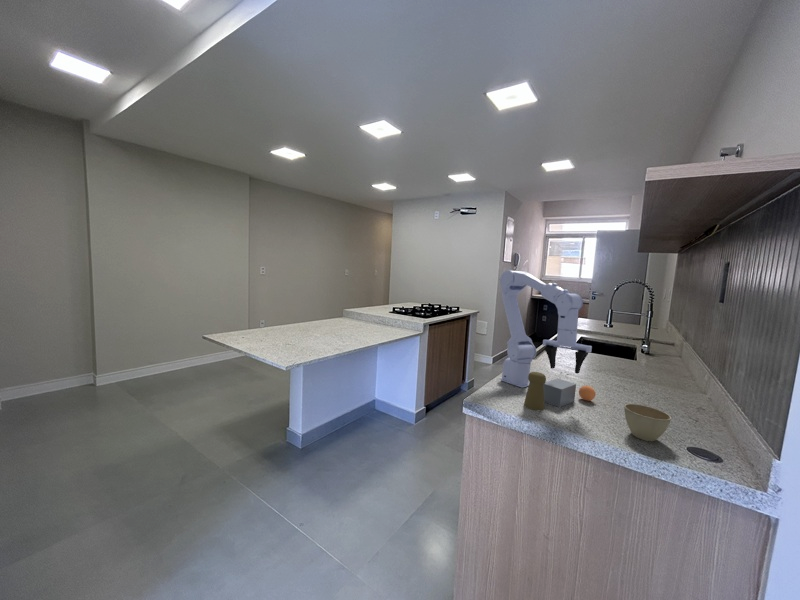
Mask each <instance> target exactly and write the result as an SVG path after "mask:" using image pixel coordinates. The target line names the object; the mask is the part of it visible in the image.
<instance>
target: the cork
mask: <svg viewBox="0 0 800 600" xmlns="http://www.w3.org/2000/svg"><path fill="white" fill-rule="evenodd" d="M528 380H529V386H527V387H528V388H527V390H526V391H527V392H526V395H525V399H524V403H523V406H524V407H525V406H526V407H525V408H527V409H529V408H530V409H529V410H532V411H537V410H542V411H544V410H545V402H544V387H543V385H544V384H545V382H547V377H546V375H545V374H544V373H542V372H537V371H530V373H529V375H528ZM543 409H544V410H543Z"/></svg>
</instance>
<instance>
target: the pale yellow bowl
mask: <svg viewBox="0 0 800 600" xmlns="http://www.w3.org/2000/svg"><path fill="white" fill-rule="evenodd" d="M623 408H624V416H625V421H626V424H627V425H628V428H629V431H630V433H631V435H633V436H634V437H635V438H638V439H640V440H642V441H645V442H654V441H655V442H656V441H657V440H658V439H659V438H660V437H661V436H662V435H663V434H664V433H665V432H666V430H667V428H668V427H669V425H670V423H671V420H672V417H671V415H670V414H668V413H667V412H664V411H663V410H660V409H658V408H654V407H652V406H648V405H643V404H637V403H625V404H624V407H623Z"/></svg>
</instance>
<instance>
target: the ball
mask: <svg viewBox="0 0 800 600" xmlns="http://www.w3.org/2000/svg"><path fill="white" fill-rule="evenodd" d="M578 395H579V397H580V398H581V399H582V400H584V401H587V402H588V401H589V402H590V401H593V400H594V399H595V398H596V390H595V389H594V388H593V387H592V386H590V385H583V386H580V387H579V389H578Z"/></svg>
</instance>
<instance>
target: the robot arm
mask: <svg viewBox="0 0 800 600" xmlns="http://www.w3.org/2000/svg"><path fill="white" fill-rule="evenodd" d="M499 282H500V283H499V285H500V287H501V299H502V303H503V307H504V311H505V316H506V321H507V326H508V330H509V333H510V338H509V340H507V341H506V343H507V345H506V346H507V349H506V351H507V352H506V353H507V356H508V357H507V358H505V360H504V361H503V363H502V364H503V365H502V374H501V379H500V381H502V382H505V383H508V384H510V385H513V386H516V387H519V388H521V389H522V388H525V387H528V386H529V380H528V375H529V373H531V365H532V364H531V363H532V362H533V360H534V359H535V357H536V356H537V348H536V346H535V345H534V343H533V340H532V338H531V337H529V336H528V335H527V334H526V330H525V325H524V322H523V317H522V315H521V310H520V306H519V302H518V297H517V296H518V295H519V294H520V293H521V292H522V291H523V290H524V289H525V288H526V287H530V288H531V289H534V290H536V291H538V292H540V295H541V297H542V298H543V299H545V300H546V301H549V302H550V303H552V304H554V305H555V307H556V309H557V315H558V316H557V317H558V318H557V319H558V320H557V333H556V334H557V335H556V336H557V337H556V340H553V339H543V340H542V346H544V351H545V353H546V355H547V358H548V361H549V364H550V365H549V366H550V369H555V368H556V358H557V351H558V348H559V349H565V350H573V351H575V352H574V355H575V366H574V367H575V368H574V374H577V375H578V374H579V373H580V370H581V369H582V368H581V367H582V366H583V363H584V361H585V359H586V358H587V356H588V354H590V353H592V349H593V346H592V345H587V344H582V343H577V338H578V326H579V325H578V324H579V323H578V321H579V311H580V309H581V308H582V307H583V305H584V299H583V297H582V296H581V295H579V293H577V292H576V293H575V292H572V293H570V290H568V289H564V288H562V287H561V286H559V284H558V283H556V282H549V283H545V282H544V281H542V280H540V279H539V278H537V277H536V276H534V275H532V274H531V273H530V272H527V271H524V270H522V271H520V270H519V271H518V270H517V271H516V270H511V269H506V270H504V271H503V272H502V273H501V275H500V278H499Z"/></svg>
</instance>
